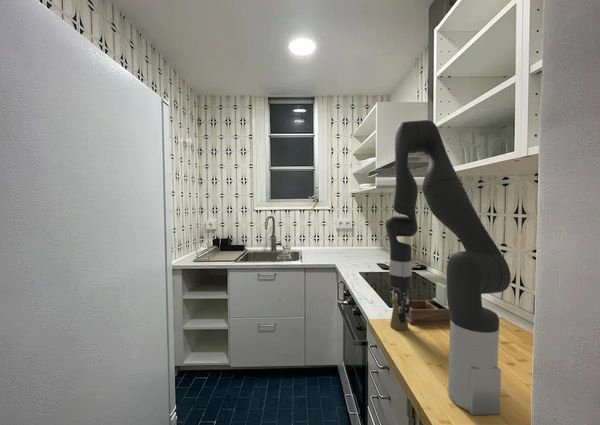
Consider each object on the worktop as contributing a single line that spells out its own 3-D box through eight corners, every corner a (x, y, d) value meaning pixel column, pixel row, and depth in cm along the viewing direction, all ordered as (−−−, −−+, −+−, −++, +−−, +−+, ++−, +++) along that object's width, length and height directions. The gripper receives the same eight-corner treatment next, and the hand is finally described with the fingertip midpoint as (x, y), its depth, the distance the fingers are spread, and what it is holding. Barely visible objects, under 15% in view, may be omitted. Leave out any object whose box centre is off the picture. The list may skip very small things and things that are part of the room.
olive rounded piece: (410, 331, 99) (411, 299, 98) (393, 330, 99) (393, 299, 98) (404, 323, 105) (405, 293, 104) (388, 323, 105) (388, 293, 104)
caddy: (475, 323, 105) (476, 310, 105) (410, 324, 104) (410, 310, 104) (456, 311, 117) (456, 299, 117) (397, 312, 116) (397, 299, 116)
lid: (473, 309, 106) (473, 288, 106) (447, 309, 105) (448, 288, 105) (456, 299, 116) (456, 280, 116) (432, 299, 116) (433, 281, 116)
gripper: (383, 268, 108) (382, 313, 109) (397, 278, 94) (396, 329, 95) (402, 268, 109) (401, 313, 109) (420, 278, 94) (418, 329, 95)
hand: (399, 320), depth 102 cm, fingers closed on olive rounded piece, 3 cm apart
